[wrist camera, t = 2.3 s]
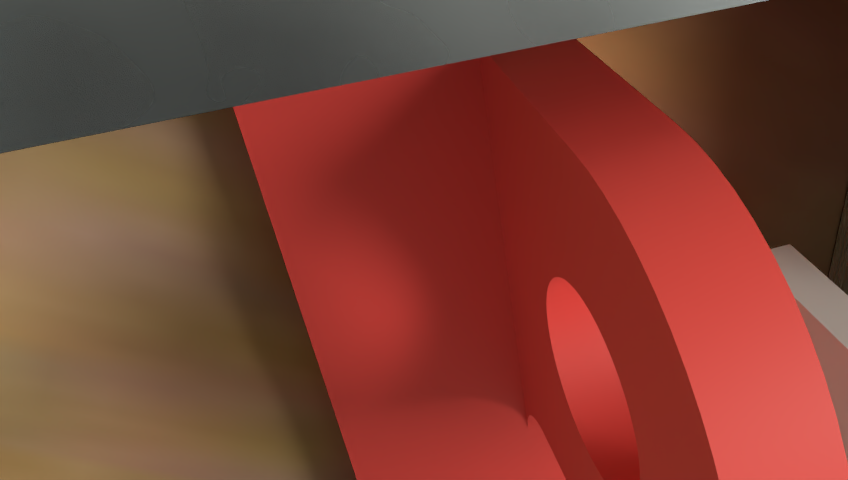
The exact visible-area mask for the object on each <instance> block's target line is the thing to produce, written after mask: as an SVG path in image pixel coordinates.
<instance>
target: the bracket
mask: <svg viewBox="0 0 848 480" xmlns="http://www.w3.org/2000/svg"><path fill="white" fill-rule="evenodd" d="M233 109H234V112H235V115H236V118H237V121H238V124H239V127H240V130H241V133H242V136H243V139H244V142H245V145H246V148H247V151H248V154H249V157H250V160H251V163H252V166H253V169H254V172H255V175H256V178H257V181H258V184H259V187H260V190H261V193H262V196H263V199H264V202H265V205H266V208H267V211H268V214H269V217H270V220H271V223H272V226H273V229H274V232H275V235H276V238H277V241H278V244H279V247H280V250H281V253H282V256H283V259H284V262H285V265H286V268H287V271H288V274H289V277H290V280H291V283H292V286H293V289H294V292H295V295H296V298H297V301H298V304H299V307H300V310H301V313H302V316H303V319H304V322H305V325H306V328H307V331H308V334H309V337H310V340H311V343H312V346H313V349H314V352H315V355H316V358H317V361H318V364H319V367H320V370H321V373H322V376H323V379H324V382H325V385H326V388H327V391H328V394H329V397H330V400H331V403H332V406H333V409H334V412H335V415H336V418H337V421H338V424H339V427H340V430H341V434H342V437H343V440H344V443H345V446H346V449H347V452H348V455H349V458H350V461H351V464H352V467H353V470H354V473H355V476H356V479H357V480H848V463H847V458H846V453H845V449H844V445H843V441H842V436H841V432H840V428H839V424H838V419H837V416H836V412H835V409H834V406H833V402H832V399H831V396H830V392H829V389H828V386H827V382H826V379H825V376H824V373H823V370H822V367H821V365H820V362H819V359H818V356H817V353H816V351H815V348H814V345H813V342H812V339H811V337H810V334H809V332H808V329H807V327H806V324H805V322H804V320H803V317H802V315H801V313H800V310H799V308H798V305H797V303H796V301H795V298H794V296H793V294H792V292H791V290H790V287H789V285H788V283H787V281H786V279H785V277H784V275H783V273H782V271H781V269H780V267H779V265H778V263H777V261H776V259H775V257H774V255H773V253H772V251H771V249H770V248H769V246H768V244H767V242H766V241H765V239H764V237H763V235H762V233H761V232H760V230H759V228H758V226H757V224H756V223H755V221H754V219H753V218H752V216H751V215H750V213H749V212H748V210H747V208H746V207H745V205H744V204H743V202H742V201H741V199H740V198H739V196H738V194H737V193H736V191H735V190H734V188H733V187H732V186H731V184H730V183H729V182H728V180H727V179H726V178H725V176H724V175H723V174H722V172H721V171H720V170H719V168H718V167H717V166H716V164H715V163H714V162H713V161H712V160H711V158H710V157H709V156H708V155H707V154H706V153H705V152H704V151H703V149H702V148H701V147H700V146H699V145H698V144H697V143H696V141H695V140H693V139H692V138H691V137H690V136H689V135H688V134H687V133H686V132H685V131H684V130H683V129H682V128H681V127H680V126H679V125H678V124H676V123H675V122H674V121H673V120H672V119H670V118H669V117H668V116H667V115H666V114H664V113H663V112H662V111H661V110H660V109H659V108H657V107H656V106H655V105H654V104H653V103H651V102H650V101H649V100H648V99H647V98H645V97H644V96H643V95H642V94H641V93H639V92H638V91H637V90H636V89H635V88H633V87H632V86H631V85H630V84H629V83H628V82H626V81H625V80H624V79H623V78H622V77H620V76H619V75H618V74H617V73H616V72H614V71H613V70H612V69H611V68H610V67H608V66H607V65H606V64H605V63H604V62H603V61H601V60H600V59H599V58H598V57H597V56H595V55H594V54H593V53H592V52H591V51H589V50H588V49H587V48H586V47H585V46H583V45H582V44H581V43H580V42H579V41H578V40H576V39H571V40H566V41H561V42H556V43H551V44H546V45H541V46H536V47H531V48H526V49H521V50H516V51H511V52H506V53H501V54H496V55H491V56H486V57H481V58H476V59H471V60H466V61H461V62H456V63H451V64H446V65H441V66H436V67H431V68H426V69H421V70H416V71H411V72H406V73H401V74H396V75H391V76H386V77H381V78H376V79H371V80H366V81H361V82H356V83H351V84H345V85H340V86H335V87H330V88H325V89H320V90H315V91H310V92H305V93H300V94H295V95H290V96H285V97H280V98H275V99H270V100H265V101H260V102H255V103H250V104H245V105H240V106H235V107H233Z"/></svg>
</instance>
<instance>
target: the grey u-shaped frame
mask: <svg viewBox="0 0 848 480" xmlns="http://www.w3.org/2000/svg"><path fill="white" fill-rule="evenodd" d="M762 1H767V0H0V153H4V152H9V151H14V150H19V149H24V148H29V147H34V146H39V145H44V144H49V143H54V142H59V141H64V140H69V139H74V138H79V137H84V136H89V135H94V134H100V133H105V132H110V131H115V130H120V129H125V128H130V127H135V126H140V125H145V124H150V123H155V122H160V121H165V120H170V119H175V118H180V117H185V116H190V115H195V114H200V113H205V112H210V111H215V110H220V109H225V108H230V107H235V106H240V105H245V104H250V103H255V102H260V101H265V100H270V99H275V98H280V97H285V96H290V95H295V94H300V93H305V92H310V91H315V90H320V89H325V88H330V87H335V86H340V85H345V84H351V83H356V82H361V81H366V80H371V79H376V78H381V77H386V76H391V75H396V74H401V73H406V72H411V71H416V70H421V69H426V68H431V67H436V66H441V65H446V64H451V63H456V62H461V61H466V60H471V59H476V58H481V57H486V56H491V55H496V54H501V53H506V52H511V51H516V50H521V49H526V48H531V47H536V46H541V45H546V44H551V43H556V42H561V41H566V40H571V39H576V38H581V37H586V36H591V35H596V34H602V33H607V32H612V31H617V30H622V29H627V28H632V27H637V26H642V25H647V24H652V23H657V22H662V21H667V20H672V19H677V18H682V17H687V16H692V15H697V14H702V13H707V12H712V11H717V10H722V9H727V8H732V7H737V6H742V5H747V4H752V3H757V2H762ZM828 278H829V279H830V280H831V281H832V282H833V283H834V284H835V285H837V286H838V287H839V288H840V289H841V290H842V291H843V292H845V293H846V294H847V295H848V191H847V195H846V200H845V204H844V209H843V213H842V218H841V222H840V227H839V231H838V236H837V240H836V245H835V249H834V254H833V258H832V263H831V267H830V271H829V276H828Z"/></svg>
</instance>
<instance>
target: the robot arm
mask: <svg viewBox="0 0 848 480" xmlns="http://www.w3.org/2000/svg"><path fill="white" fill-rule="evenodd" d="M771 251H772V253H773V255H774V257H775V259H776V261H777V263H778V265H779V267H780V269H781V271H782V273H783V275H784V277H785V279H786V281H787V283H788V285H789V287H790V290H791V292H792V294H793V296H794V298H795V301H796V303H797V305H798V308H799V310H800V313H801V315H802V317H803V320H804V322H805V324H806V327H807V329H808V332H809V334H810V337H811V339H812V342H813V345H814V348H815V351H816V353H817V356H818V359H819V362H820V365H821V367H822V370H823V373H824V376H825V379H826V382H827V386H828V389H829V392H830V396H831V399H832V402H833V406H834V409H835V412H836V416H837V419H838V424H839V428H840V432H841V436H842V441H843V445H844V449H845V453H846V458H847V463H848V295H847V294H846V293H845V292H843V291H842V290H841V289H840V288H839V287H838V286H837V285H835V284H834V283H833V282H832V281H831V280H830V279H829V278H828V277H826V276H825V275H824V274H823V273H822V272H821V271H820V270H819V269H817V268H816V267H815V266H814V265H813V264H812V263H811V262H810V261H808V260H807V259H806V258H805V257H804V256H803V255H802V254H801V253H799V252H798V251H797V250H796V249H795V248H794V247H793V246H792V245H790V244H789V245H785V246H781V247H776V248H772V249H771Z"/></svg>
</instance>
